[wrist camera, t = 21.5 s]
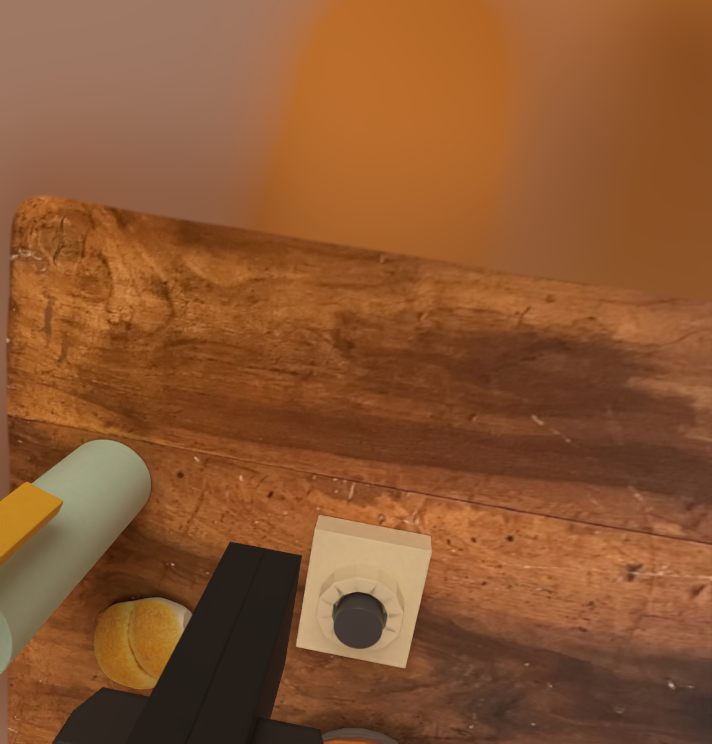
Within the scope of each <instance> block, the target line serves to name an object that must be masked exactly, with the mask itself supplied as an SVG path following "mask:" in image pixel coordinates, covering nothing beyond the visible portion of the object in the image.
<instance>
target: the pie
mask: <svg viewBox="0 0 712 744" xmlns="http://www.w3.org/2000/svg"><path fill="white" fill-rule="evenodd" d="M322 739H323V742H324V744H400V743H399V742H397V741H396V740H394V739H392V738H390V737H388V736H386V735H384V734H383V733H380V732H377V731H373V730H369V729H365V728H341V729H337V730H332V731H328V732H326V733H324V734H322Z"/></svg>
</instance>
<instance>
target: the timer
mask: <svg viewBox="0 0 712 744" xmlns="http://www.w3.org/2000/svg"><path fill="white" fill-rule="evenodd" d="M431 553H432V544H431V536H428V535H423V534H418V533H413V532H407V531H402V530H397V529H392V528H386V527H381V526H376V525H371V524H365V523H360V522H355V521H349V520H344V519H339V518H334V517H328V516H323V515H319V516H318V520H317V523H316V526H315V530H314V537H313V543H312V549H311V555H310V562H309V568H308V574H307V580H306V586H305V593H304V599H303V605H302V611H301V617H300V624H299V630H298V636H297V642H296V647H300V648H305V649H310V650H315V651H320V652H325V653H330V654H335V655H340V656H345V657H350V658H355V659H361V660H366V661H371V662H376V663H381V664H386V665H391V666H396V667H401V668H405V667H406V663H407V659H408V654H409V650H410V645H411V641H412V637H413V632H414V628H415V624H416V619H417V615H418V610H419V606H420V602H421V597H422V593H423V588H424V584H425V580H426V575H427V571H428V567H429V562H430V558H431ZM355 593H361V594H366V595H369V596H371V597H373V598H374V599H376V600H377V601H378V602H379V604H380V605H381V607H382V609H383V630H382V635H381V637H380V639H379V641H378V642H377V643H376V644H374V645H373V646H371V647H368V648H364V649H355V648H351V647H348V646H346V645H344V644H343V643H342V642H340V640H339V639H338V638H337V637H336V635H335V632H334V620H335V614H336V609H337V606H338V604H339V602H340V601H341V600H342V599H343V598H344V597H346V596H348V595H351V594H355Z"/></svg>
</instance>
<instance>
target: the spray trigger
mask: <svg viewBox="0 0 712 744" xmlns="http://www.w3.org/2000/svg"><path fill="white" fill-rule="evenodd" d="M62 504H63V500H61V499H59V498H57V497H55V496H53V495H51V494H49V493H47V492H46V491H44V490H42V489H40V488H38V487H36V486H34V485H32V484H30V483H29V482H25V483H24V484H23V485H21V486H20V487H19V488H17V489H16V490H15V491H13V492H12V493H11V494H9V495H8V496H7V497H5V498H4V499H3V500H1V501H0V566H1V565H2V564H3V563H4V562H6V561H7V560H8V559H9V558H10V557H11V556H12V555H13V554H14V553H15V552H16V551H18V550H19V549H20V548H21V547H22V546H23V545H24V544H25V543H26V542H27V541H29V540H30V539H31V538H32V537H33V536H34V535H35V534H36V533H37V532H38V531H40V530H41V529H42V528H43V527H44V526H45V525H46V524H47V523H48V522H49V521H51V520H52V519H53V518H54V517H55V516H56V515H57V514H58V513H59V511H60V508H61V506H62Z"/></svg>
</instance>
